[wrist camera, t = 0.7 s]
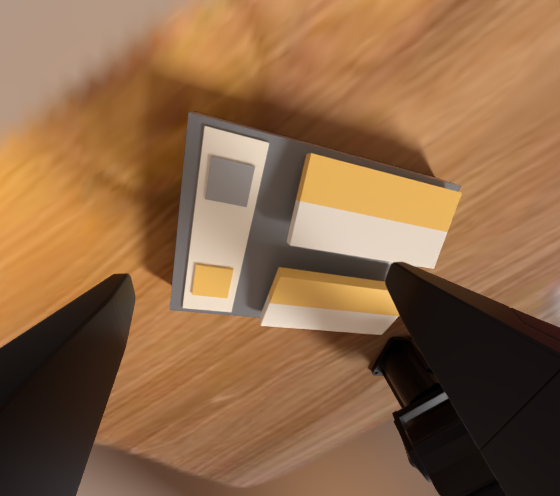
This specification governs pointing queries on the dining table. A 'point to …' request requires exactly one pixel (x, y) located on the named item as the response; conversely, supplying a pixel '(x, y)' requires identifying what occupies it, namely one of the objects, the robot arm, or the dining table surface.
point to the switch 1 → (370, 213)
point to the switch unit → (250, 217)
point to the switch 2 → (328, 303)
